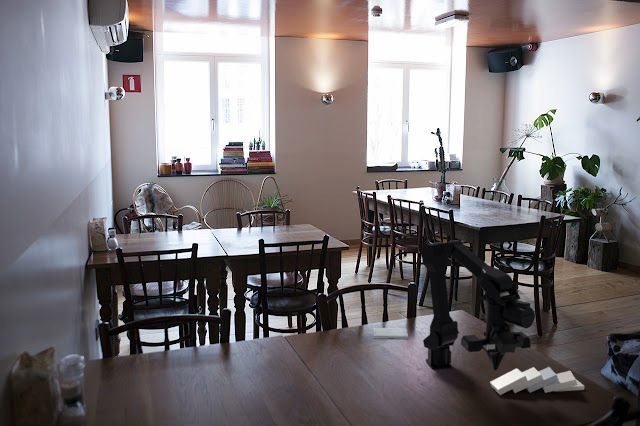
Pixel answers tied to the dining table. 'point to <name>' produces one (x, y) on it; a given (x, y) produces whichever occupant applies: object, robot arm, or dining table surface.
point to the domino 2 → (529, 379)
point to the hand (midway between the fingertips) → (494, 369)
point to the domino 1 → (508, 381)
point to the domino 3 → (544, 379)
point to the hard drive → (390, 333)
